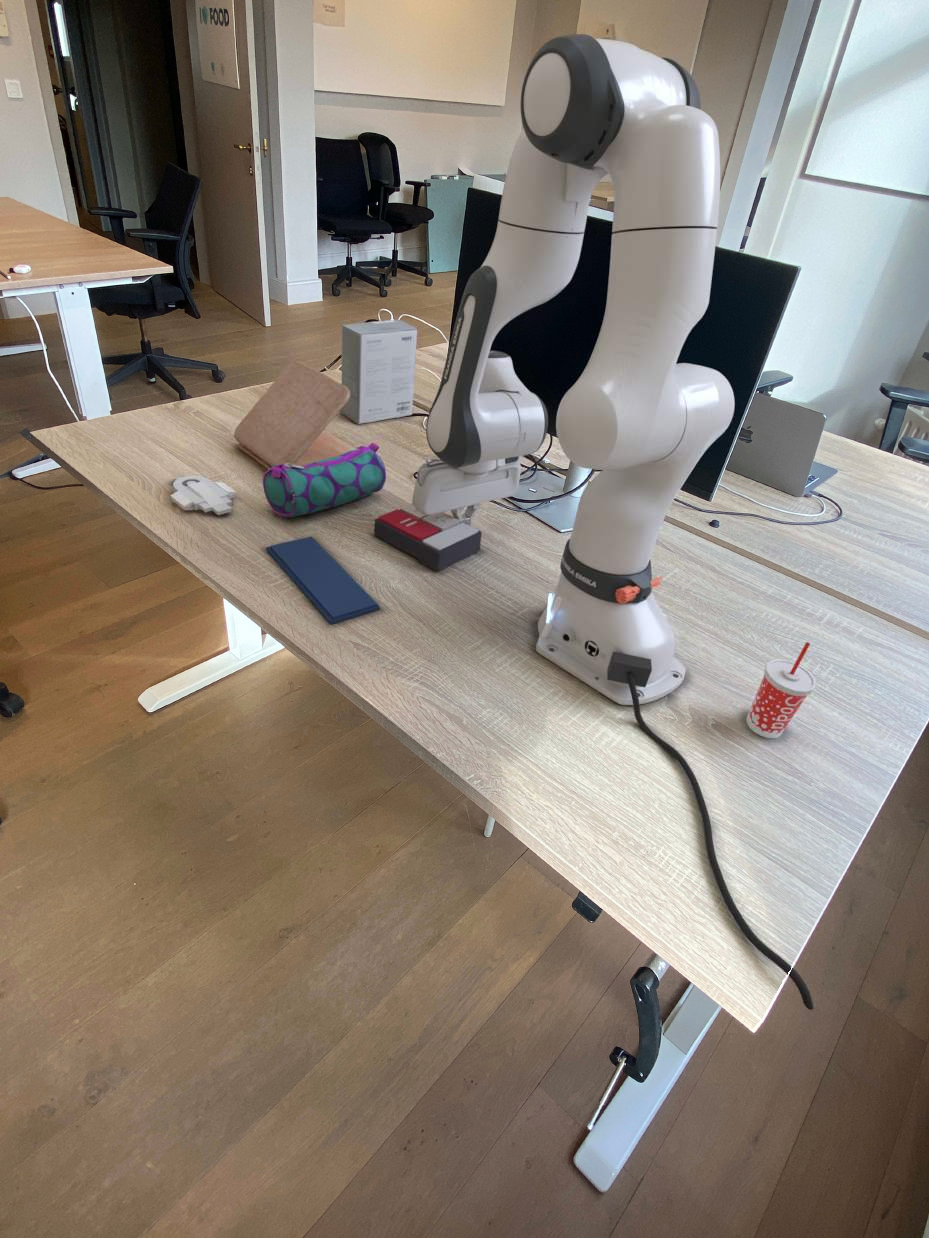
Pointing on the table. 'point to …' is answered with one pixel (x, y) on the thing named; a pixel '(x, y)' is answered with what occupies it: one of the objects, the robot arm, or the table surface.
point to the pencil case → (324, 482)
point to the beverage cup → (780, 695)
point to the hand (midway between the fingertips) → (462, 525)
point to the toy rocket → (202, 494)
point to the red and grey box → (428, 536)
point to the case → (295, 419)
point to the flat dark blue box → (322, 580)
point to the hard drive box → (378, 369)
